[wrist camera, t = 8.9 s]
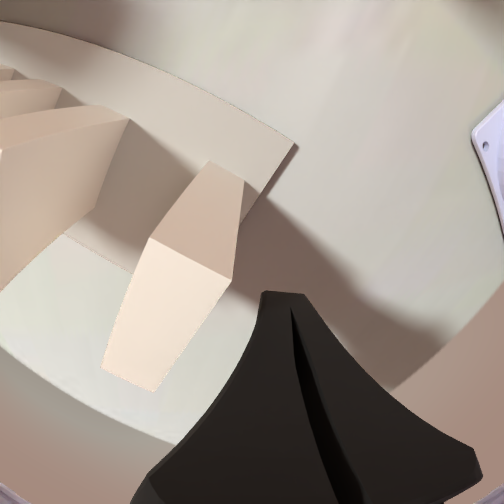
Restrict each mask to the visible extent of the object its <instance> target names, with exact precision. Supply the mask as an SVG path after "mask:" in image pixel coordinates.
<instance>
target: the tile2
mask: <svg viewBox="0 0 504 504" xmlns="http://www.w3.org/2000/svg"><path fill="white" fill-rule="evenodd" d="M129 119H130V118H128V117H126V116H124V115H122V114H120V113H117V112H115V111H113V110H111V109H109V108H107V107H105V106H103V105H88V106H77V107H68V108H60V109H52V110H45V111H39V112H33V113H27V114H22V115H17V116H12V117H7V118H3V119H0V292H1V291H2V290H3V289H4V288H5V287H6V286H7V285H8V284H9V283H10V282H11V281H12V280H13V279H14V278H15V277H16V276H17V275H18V274H19V273H20V272H21V271H22V270H23V269H24V268H25V267H26V266H27V265H28V264H29V263H30V262H31V261H32V260H33V259H34V258H35V257H36V256H37V255H39V254H40V253H41V252H42V251H43V250H44V249H45V248H46V247H47V246H49V245H50V244H51V243H52V242H53V241H54V240H55V239H57V238H58V237H59V236H60V235H61V234H62V233H64V232H65V231H66V230H67V229H68V228H70V227H71V226H72V225H73V224H74V223H76V222H77V221H78V220H79V219H81V218H82V217H83V216H84V215H86V214H87V213H88V212H90V211H91V210H92V209H93V208H95V205H96V202H97V199H98V196H99V193H100V190H101V187H102V184H103V182H104V179H105V176H106V174H107V171H108V168H109V166H110V163H111V161H112V158H113V156H114V153H115V151H116V148H117V146H118V144H119V141H120V139H121V137H122V135H123V132H124V130H125V128H126V126H127V124H128V121H129Z"/></svg>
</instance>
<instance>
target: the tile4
mask: <svg viewBox="0 0 504 504" xmlns="http://www.w3.org/2000/svg"><path fill="white" fill-rule="evenodd" d="M14 70H15V69H14V68H11V67H9V66H6V65H3V64H0V81H8V80H11V79H12V76H13V73H14Z"/></svg>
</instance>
